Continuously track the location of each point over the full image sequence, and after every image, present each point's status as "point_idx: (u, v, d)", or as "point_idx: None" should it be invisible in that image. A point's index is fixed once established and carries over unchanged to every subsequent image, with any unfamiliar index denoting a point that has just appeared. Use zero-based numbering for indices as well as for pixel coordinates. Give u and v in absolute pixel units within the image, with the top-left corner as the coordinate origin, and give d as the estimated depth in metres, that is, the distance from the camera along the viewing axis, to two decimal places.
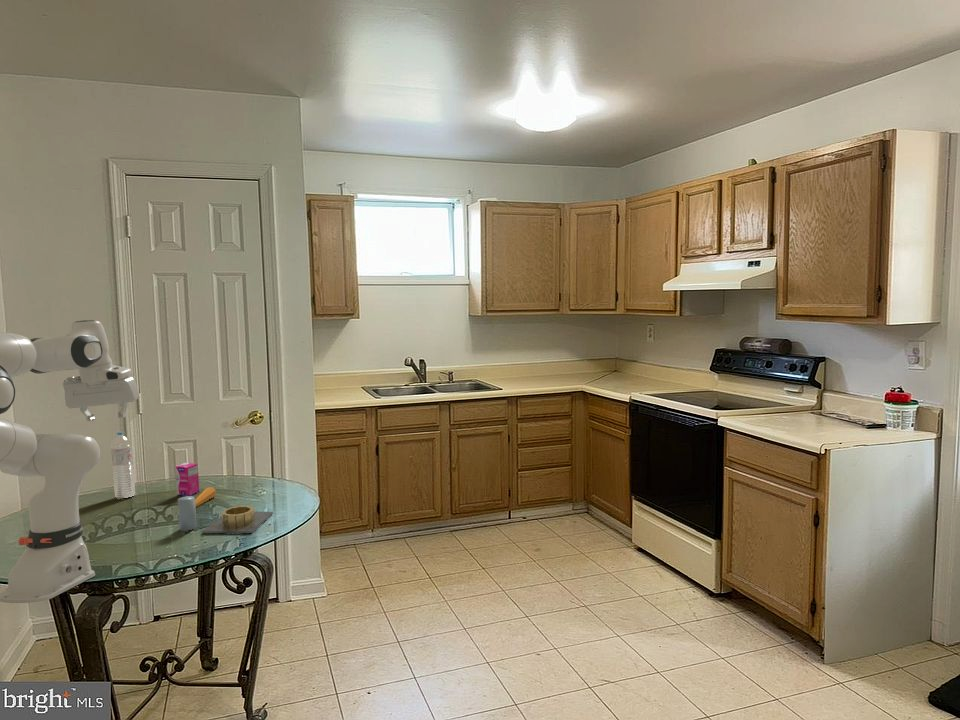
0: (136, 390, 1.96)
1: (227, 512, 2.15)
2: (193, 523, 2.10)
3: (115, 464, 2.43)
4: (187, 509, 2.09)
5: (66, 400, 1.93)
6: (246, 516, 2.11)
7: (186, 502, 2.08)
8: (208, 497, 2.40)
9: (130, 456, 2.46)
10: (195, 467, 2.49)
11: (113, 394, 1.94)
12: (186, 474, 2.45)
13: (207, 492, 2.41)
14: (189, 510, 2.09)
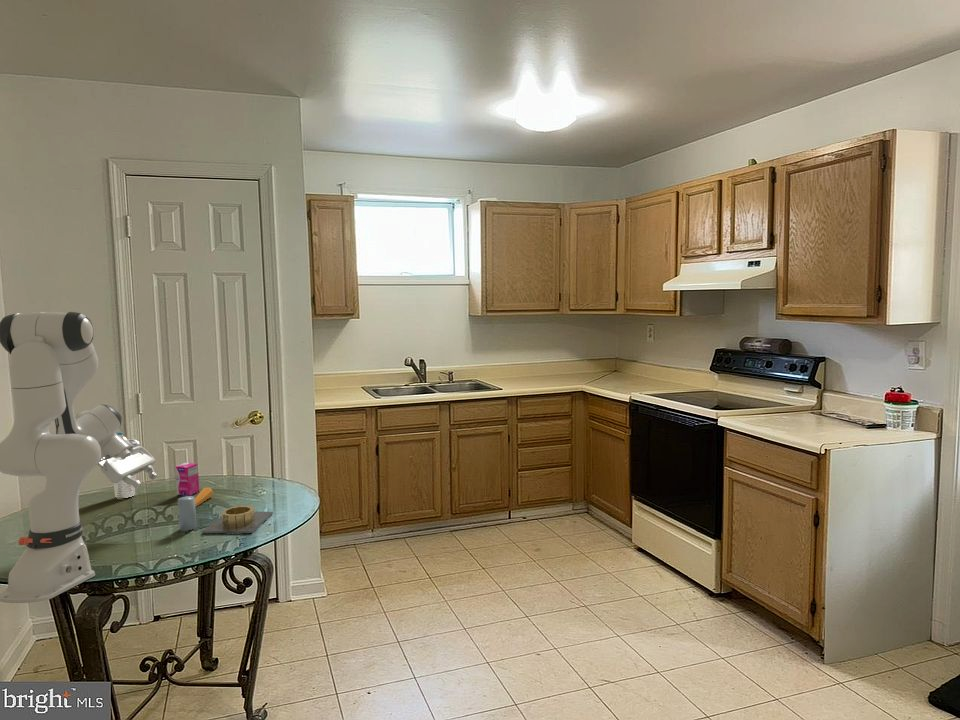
0: None
1: (227, 512, 2.15)
2: (193, 523, 2.10)
3: None
4: (187, 509, 2.09)
5: (116, 470, 2.01)
6: (246, 516, 2.11)
7: (186, 502, 2.08)
8: (206, 497, 2.40)
9: None
10: (195, 467, 2.49)
11: (141, 458, 2.15)
12: (186, 474, 2.45)
13: (205, 492, 2.41)
14: (189, 510, 2.09)
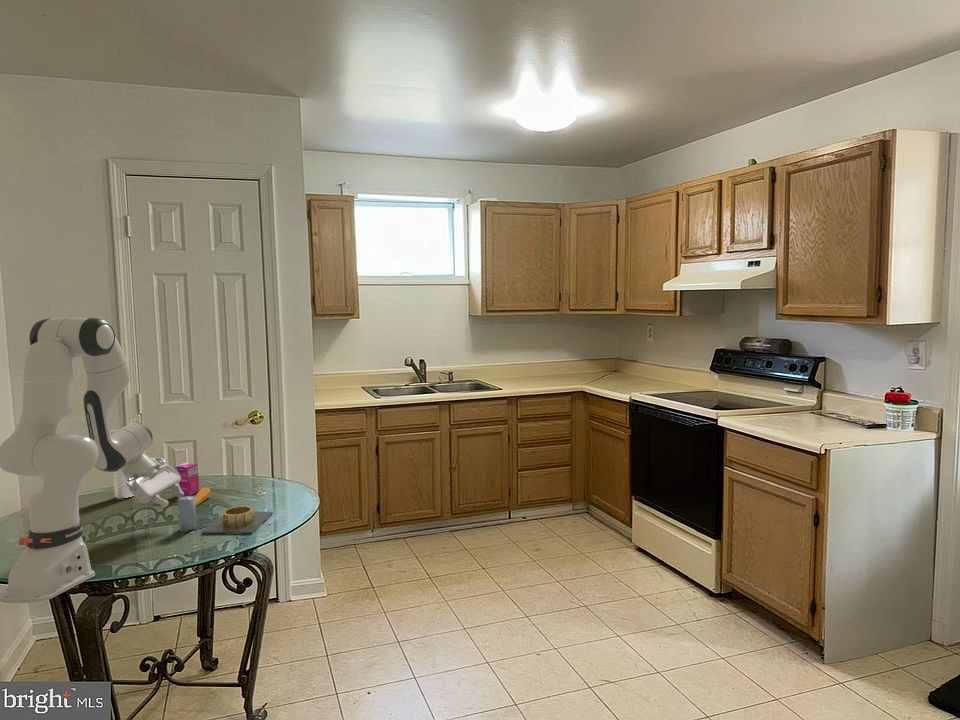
0: None
1: (227, 512, 2.15)
2: (193, 523, 2.10)
3: None
4: (187, 509, 2.09)
5: (144, 490, 2.01)
6: (246, 516, 2.11)
7: (186, 502, 2.08)
8: (205, 497, 2.40)
9: None
10: (195, 467, 2.49)
11: (167, 477, 2.15)
12: (186, 474, 2.45)
13: (203, 492, 2.41)
14: (189, 510, 2.09)
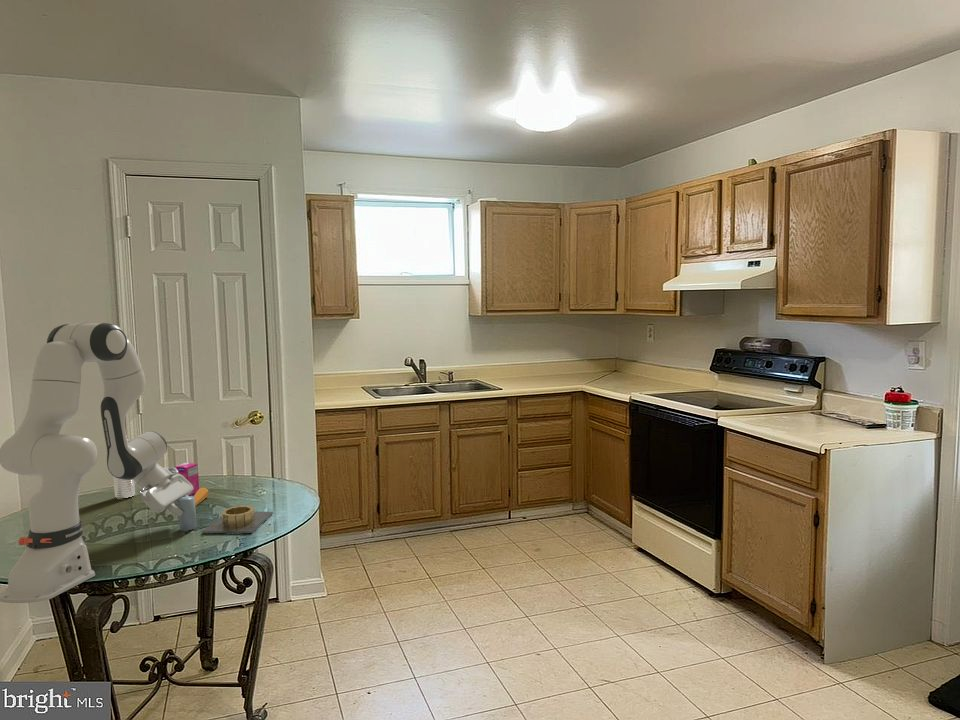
0: None
1: (227, 512, 2.15)
2: (193, 523, 2.10)
3: None
4: (187, 509, 2.09)
5: (158, 500, 2.01)
6: (246, 516, 2.11)
7: (186, 502, 2.08)
8: (203, 497, 2.40)
9: None
10: (195, 467, 2.49)
11: (180, 486, 2.15)
12: (186, 474, 2.45)
13: (202, 492, 2.41)
14: (189, 510, 2.09)
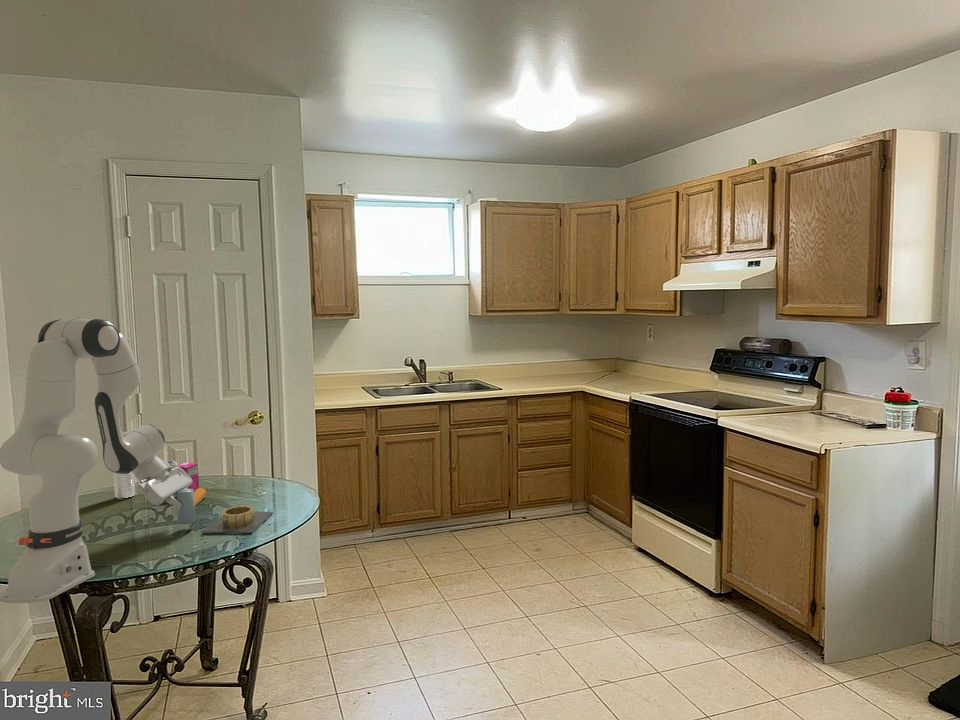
0: None
1: (227, 512, 2.15)
2: (192, 516, 2.10)
3: None
4: (186, 501, 2.08)
5: (157, 492, 2.01)
6: (246, 516, 2.11)
7: (185, 494, 2.08)
8: (201, 498, 2.40)
9: None
10: (195, 467, 2.49)
11: (179, 479, 2.15)
12: None
13: (200, 493, 2.40)
14: (187, 503, 2.09)
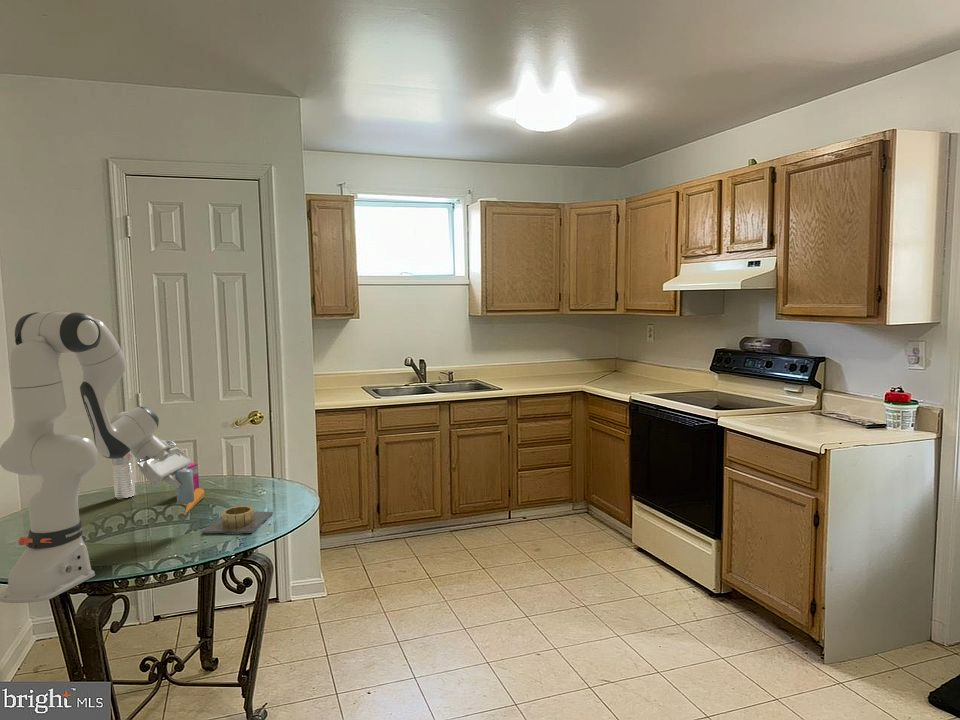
0: None
1: (227, 512, 2.15)
2: (191, 496, 2.09)
3: (115, 464, 2.43)
4: (185, 481, 2.08)
5: (155, 471, 2.00)
6: (246, 516, 2.11)
7: (184, 474, 2.07)
8: (200, 498, 2.40)
9: (130, 456, 2.46)
10: (195, 467, 2.49)
11: (178, 459, 2.14)
12: None
13: (199, 493, 2.40)
14: (186, 483, 2.08)
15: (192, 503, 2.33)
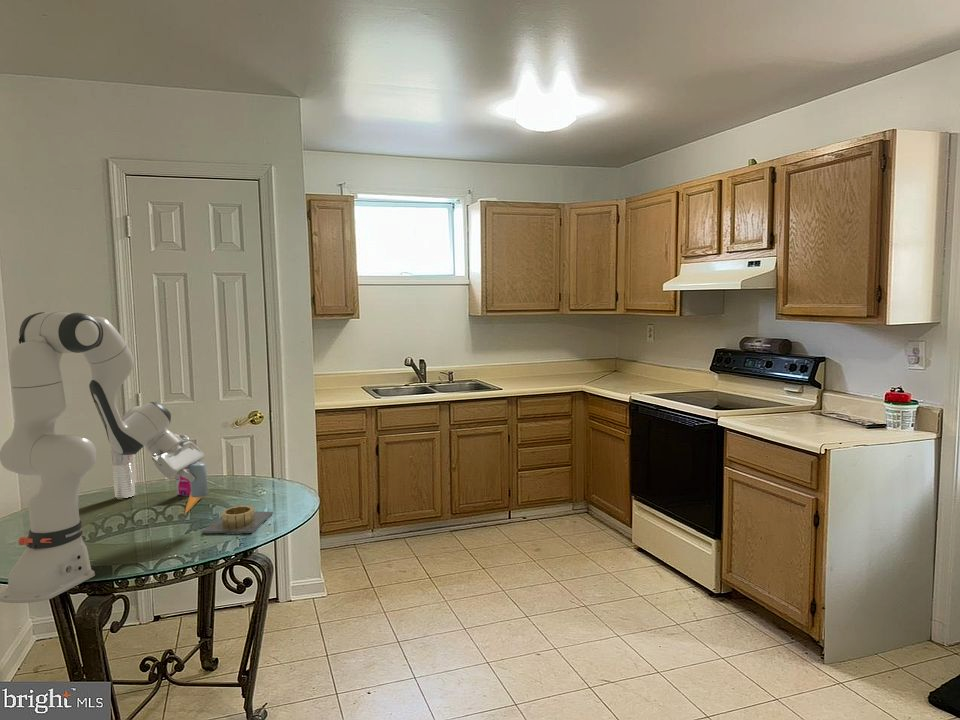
0: None
1: (227, 512, 2.15)
2: (205, 489, 2.10)
3: (115, 464, 2.43)
4: (199, 475, 2.09)
5: (170, 465, 2.01)
6: (246, 516, 2.11)
7: (198, 468, 2.08)
8: (199, 497, 2.40)
9: (130, 456, 2.46)
10: None
11: (191, 453, 2.15)
12: None
13: None
14: (200, 476, 2.09)
15: (191, 503, 2.33)
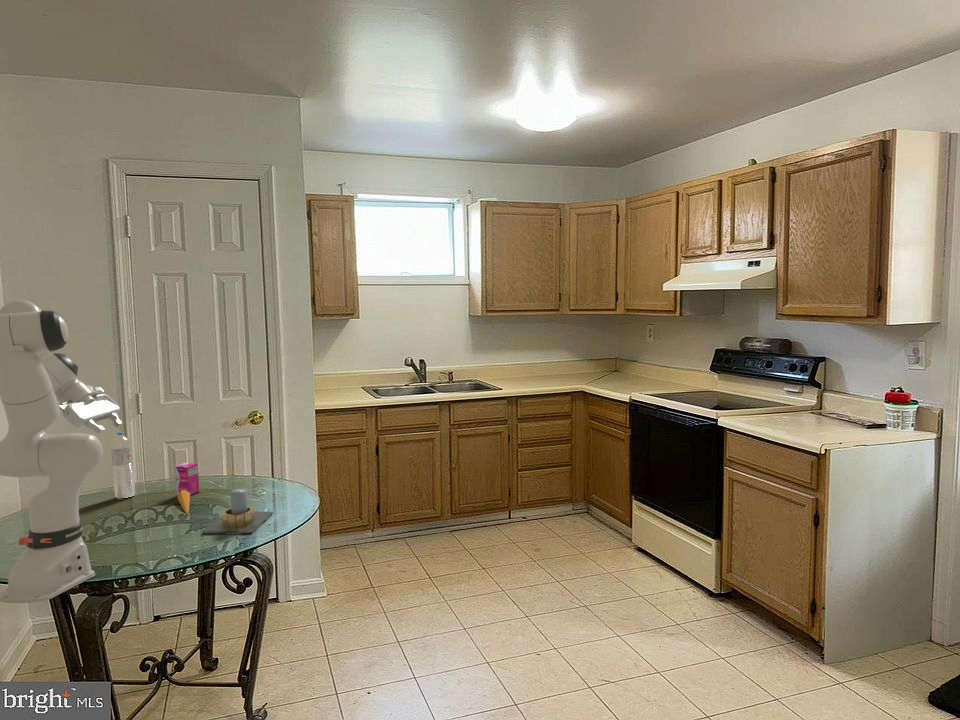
0: None
1: (227, 512, 2.15)
2: None
3: (115, 464, 2.43)
4: (240, 501, 2.12)
5: (77, 414, 1.99)
6: (246, 516, 2.11)
7: (239, 494, 2.11)
8: (189, 498, 2.39)
9: (130, 456, 2.46)
10: (195, 467, 2.49)
11: (105, 405, 2.13)
12: (186, 474, 2.45)
13: (187, 494, 2.39)
14: (241, 503, 2.12)
15: (187, 504, 2.32)
